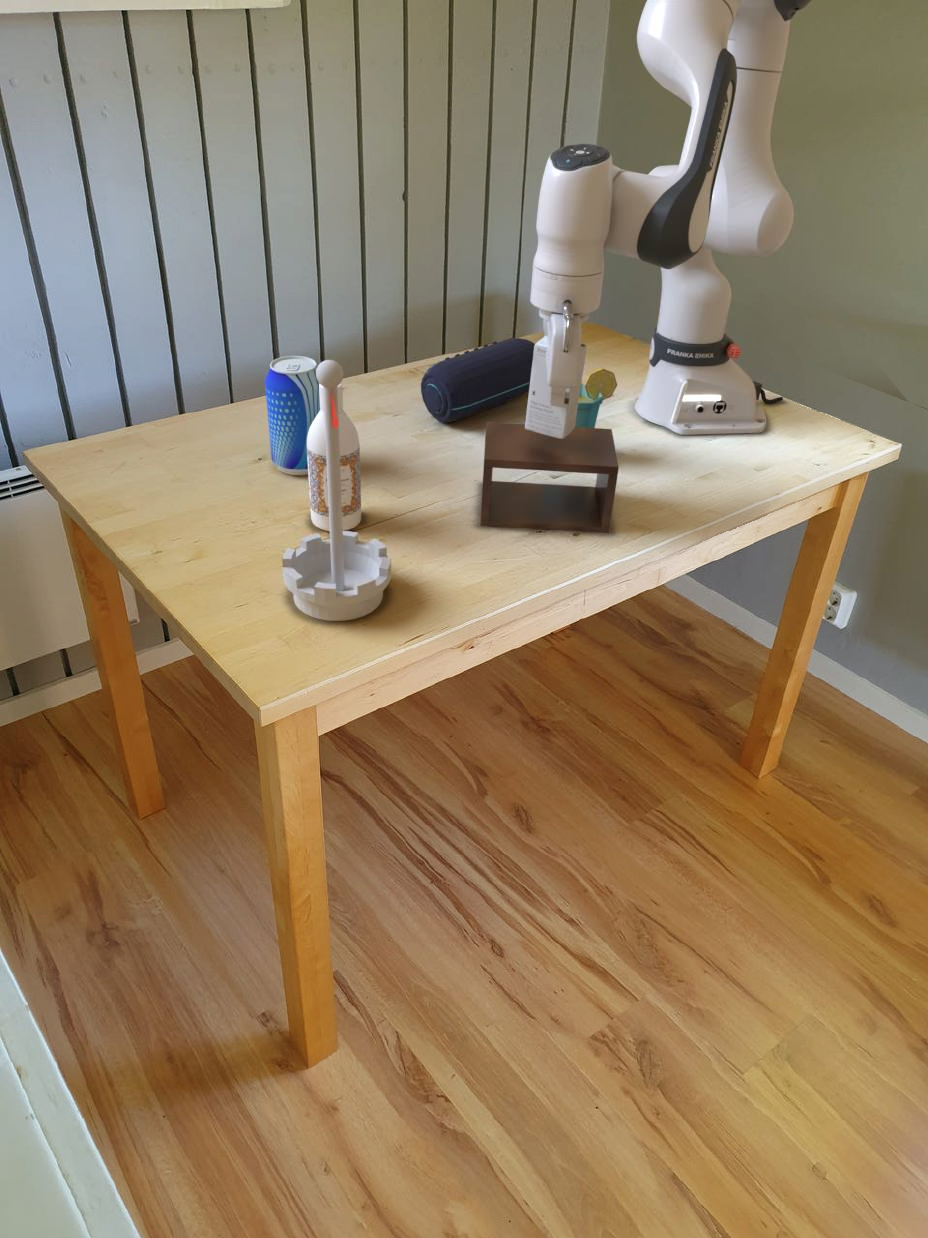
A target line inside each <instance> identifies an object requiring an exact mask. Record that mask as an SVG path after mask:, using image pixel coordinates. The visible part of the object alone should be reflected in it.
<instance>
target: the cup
mask: <svg viewBox="0 0 928 1238" xmlns="http://www.w3.org/2000/svg"><path fill="white" fill-rule="evenodd" d="M617 386H618V381H617V378H616V375H615V373H614V372H613V371H611V370H608V369H606V368H603V367H600V368H598V369H596V370H594V371H591V372H589V374H588V376H587V378H586V380H585V381H584V383H581V389H580V396H579V402H578V409H577V415H576V422H575V427H583V428H596V424H597V419H598V414H599V410H600V407H601V405H602V404H603V401H605V400H607V399H609V398H611V397H612V396H613V394H614V392H615V390H616V388H617Z"/></svg>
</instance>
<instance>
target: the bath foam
mask: <svg viewBox="0 0 928 1238" xmlns="http://www.w3.org/2000/svg"><path fill="white" fill-rule="evenodd" d="M337 392H338V419H339V447H340V474H341V502H342V529H343V531H350V530H352V529H354V528H356V527H357V526H358V525H359V524H360V522H361V521H362V491H361V490H362V489H361V488H362V487H361V486H362V485H361V484H362V483H361V451H360V450H361V449H360V448H361V447H360V438H359V433H358V431H357V429H356V426H355V424H354V422H353V421H352V420H351V418H350V417H349V416H348V414H347V413H346V411H345V410H344V397H343V395H344V393H343V384H342V382H341V383H340V384H339V385H338V386H337ZM319 394H320V411H319V413H318V414H317V416H316V417H315V419H314V421H313V422H312V424H311V426H310V428H309V431H308V436H307V461H308V475H307V476H308V477H307V478H308V492H309V494H308V495H309V508H310V519H311V520H310V521H311V522H312V524H313V525H314V526H315V527H317V528H318V529H320V530H322V531H326V532H330V527H329V505H328V483H327V461H326V439H325V417H324V395H323V386H322V385H321V384H319Z"/></svg>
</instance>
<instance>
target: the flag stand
mask: <svg viewBox="0 0 928 1238" xmlns="http://www.w3.org/2000/svg"><path fill="white" fill-rule="evenodd" d="M343 369H344V368H343V367H342V365H341V364H340V363H339V362H338V361H336V360H333V359H325V360H323V361H321V362H320V363H319V364H317V370H316V378H317V380H318V382H319V383H320V384H321V385H322V386H323V395H324V417H325V439H326V461H327V483H328V505H329V527H330V531H329V538H327V539H326V538H325V539H322V536H321V534H320V533H319V532H316V533H312V534H309V535H306V536H304V537H302V538H300V547H298V548H296V549H295V548H291V547H287V549H286V550H285V551H284V552H283V555H282V557H281V558H282V559H281V561H282V562H281V563H282V575H283V582H284V584H285V587H286V588H287V589H288V590H289V591H290V593H292V594H293V602H294V604H295V606H296V607H297V608H298V609H299V611H301V612H302V613H303V614H305V615H307V616H309V617H311V618H315V619H317V620H323V621H328V622H343V621H350V620H355V619H359V618H362V617H364V616H367V615H369V614H371V613H372V612H374V611H375V610H376V609H377V608H378V607H379V606H380V605H381V602H382V601H383V598H384V597H383V596H384V590H385V589H386V588H387V587H388V585H389V583H390V581H391V579H392V557H389V556H388V548H387V546H386V545H385V544H384V543H383V542H382V541H381V540H379V539H377V538H373V539H371V540H369V541H368V542H366V541H362V540H359V532H356V531H350V530H346V531H343V529H342V502H341V474H340V447H339V419H338V392H337V386H338V385H339V384H340V383H342V382H343V381H344V380H343V379H344V375H345V374H344V370H343Z"/></svg>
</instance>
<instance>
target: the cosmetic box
mask: <svg viewBox="0 0 928 1238" xmlns="http://www.w3.org/2000/svg"><path fill="white" fill-rule="evenodd" d="M587 349H588V344H586V343H582V342H581V350H580V360H579V370H578V379H577V383H576V386H575V387H574V388H567V389H566V392H565V397H564V404H563V406H561V407H558V406H552V405H551V404H550V392H551V387H550V386H549V385H548V382H547V367H546V351H547V338H546V336H545V337H544V336H543V337H542V338H541V339H539V340H538V341H537V342H536V343H535V345H534V353H533V362H532V370H531V379H530V388H529V392H528V398H527V404H526V405H527V406H526V415H525V423H524V424H525V429H527V430H530V431H534V432H537V433H541V434H544V435H548V436H552V437H555V438H559V439H564V438H565V437H566V436H567V435H568V434H570V433H571V431H572V430H573V429H574V428H575V422H576V415H577V409H578V402H579V396H580V389H581V384H582V382H583V376H584V375H583V374H584V368H585V362H586V356H587ZM564 352H565V351H564ZM567 352H568V351H567ZM565 353H566V352H565Z"/></svg>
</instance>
